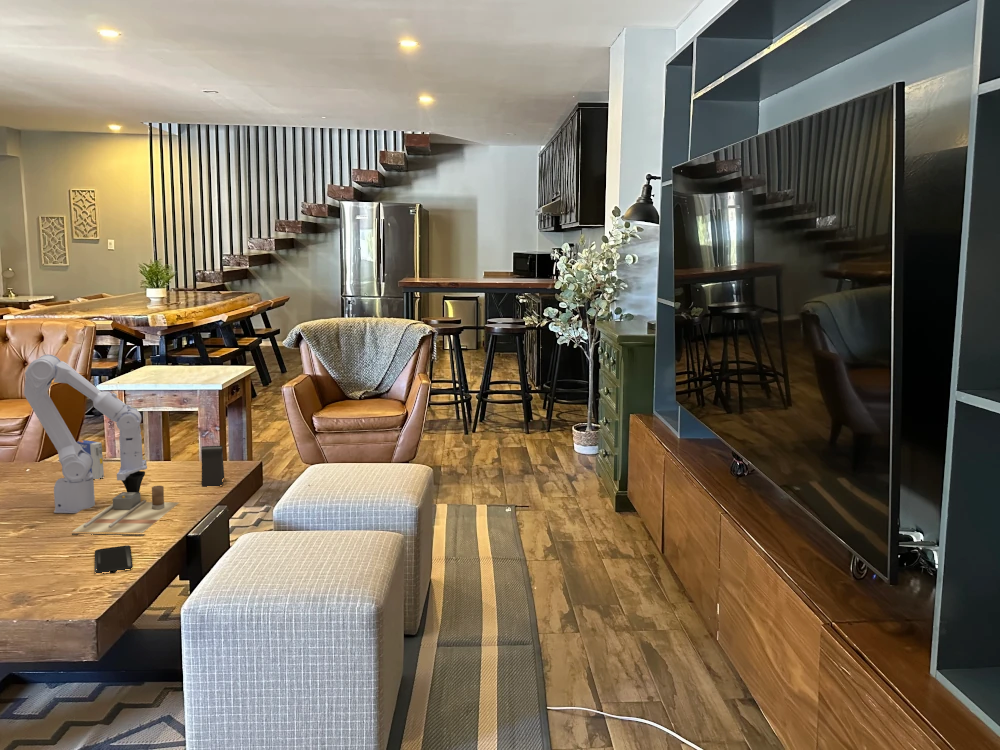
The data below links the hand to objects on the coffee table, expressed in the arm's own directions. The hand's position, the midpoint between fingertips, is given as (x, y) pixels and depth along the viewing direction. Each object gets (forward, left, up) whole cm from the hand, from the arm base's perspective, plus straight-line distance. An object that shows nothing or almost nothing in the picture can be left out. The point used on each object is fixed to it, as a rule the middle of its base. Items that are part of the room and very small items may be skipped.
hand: (133, 497), depth 220 cm
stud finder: (0, -4, -1) cm, 4 cm away
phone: (+13, -40, -3) cm, 42 cm away
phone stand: (+15, +22, -2) cm, 27 cm away
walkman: (-25, +26, -2) cm, 36 cm away
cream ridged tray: (+4, -12, -2) cm, 13 cm away
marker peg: (+9, -5, -1) cm, 10 cm away
